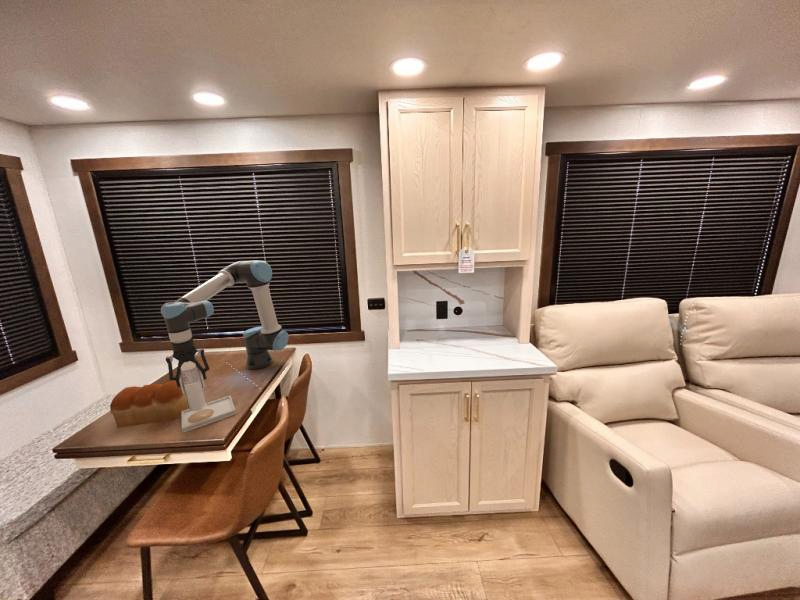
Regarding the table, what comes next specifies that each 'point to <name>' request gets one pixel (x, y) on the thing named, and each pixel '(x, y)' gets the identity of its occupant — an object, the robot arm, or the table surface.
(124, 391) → the bread
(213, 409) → the tray
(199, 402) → the water bottle
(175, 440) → the table surface
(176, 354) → the robot arm
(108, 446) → the table surface
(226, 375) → the table surface
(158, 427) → the table surface
